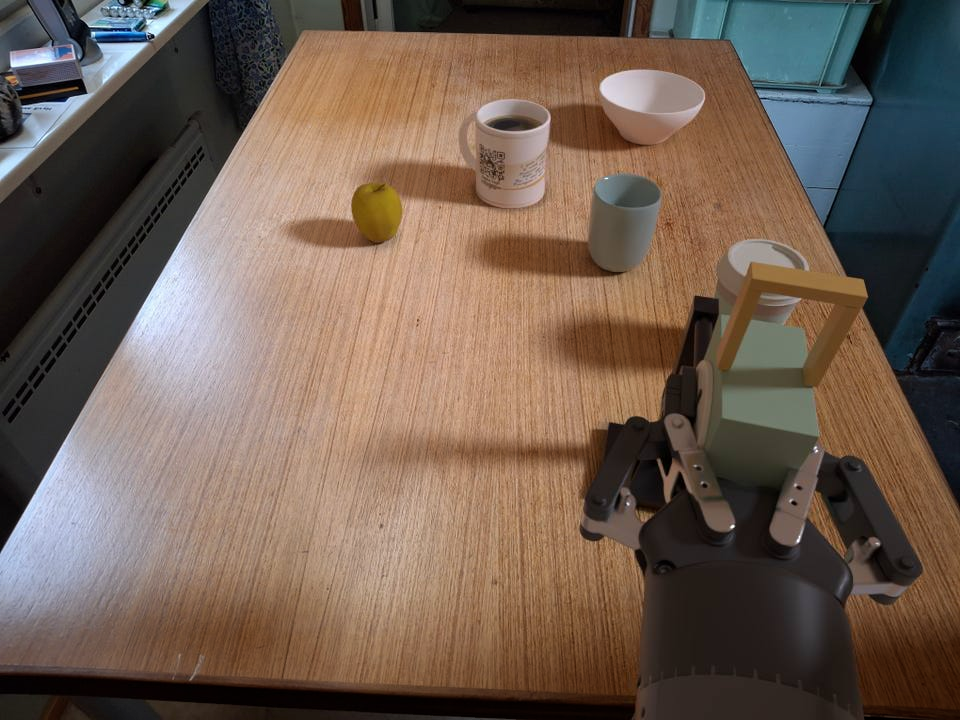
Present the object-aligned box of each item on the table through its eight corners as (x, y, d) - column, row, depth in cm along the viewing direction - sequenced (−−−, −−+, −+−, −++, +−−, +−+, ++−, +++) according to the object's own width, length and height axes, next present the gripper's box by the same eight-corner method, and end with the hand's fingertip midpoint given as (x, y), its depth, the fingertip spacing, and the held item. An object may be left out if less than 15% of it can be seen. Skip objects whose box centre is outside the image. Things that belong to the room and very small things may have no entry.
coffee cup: (772, 389, 68) (814, 298, 60) (687, 368, 70) (716, 277, 62) (778, 336, 74) (816, 245, 65) (698, 317, 76) (726, 227, 68)
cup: (578, 244, 86) (587, 174, 79) (637, 241, 86) (652, 171, 79) (590, 282, 80) (601, 210, 73) (654, 279, 81) (671, 207, 74)
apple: (412, 244, 86) (407, 189, 80) (363, 256, 84) (355, 200, 79) (396, 219, 90) (391, 164, 84) (350, 229, 88) (341, 174, 83)
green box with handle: (746, 454, 40) (853, 239, 29) (750, 559, 35) (881, 346, 24) (667, 438, 40) (743, 222, 30) (660, 539, 36) (749, 323, 25)
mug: (484, 215, 91) (484, 138, 83) (457, 172, 99) (455, 98, 91) (555, 201, 93) (562, 125, 85) (524, 160, 101) (527, 87, 93)
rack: (714, 449, 63) (776, 296, 50) (714, 587, 53) (791, 442, 40) (607, 429, 65) (640, 276, 52) (588, 559, 55) (623, 411, 42)
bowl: (575, 140, 106) (580, 96, 101) (619, 103, 115) (625, 61, 110) (671, 169, 100) (681, 123, 95) (709, 127, 109) (720, 84, 104)
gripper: (1035, 755, 20) (913, 357, 31) (551, 637, 22) (607, 309, 34) (916, 816, 25) (850, 456, 37) (536, 716, 27) (589, 408, 39)
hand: (733, 387), depth 35 cm, fingers closed on green box with handle, 4 cm apart
